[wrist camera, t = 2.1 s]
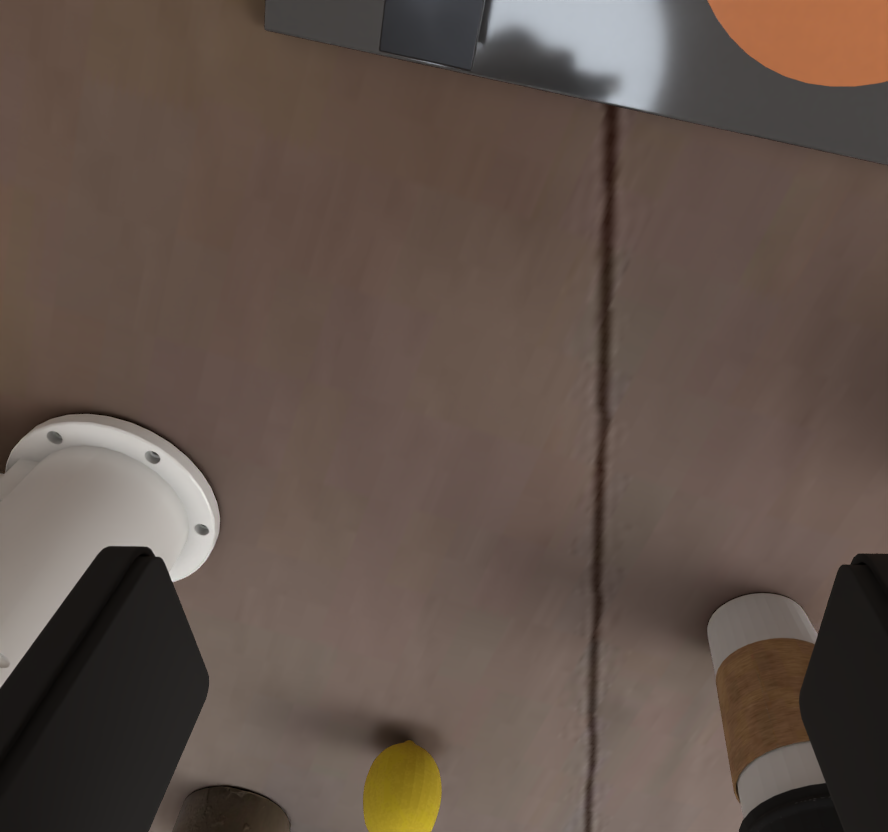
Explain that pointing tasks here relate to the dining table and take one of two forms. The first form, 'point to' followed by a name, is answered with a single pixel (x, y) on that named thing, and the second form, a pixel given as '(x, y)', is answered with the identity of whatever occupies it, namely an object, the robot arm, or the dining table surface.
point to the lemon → (402, 790)
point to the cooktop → (671, 59)
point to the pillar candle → (230, 812)
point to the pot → (432, 30)
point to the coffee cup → (769, 714)
